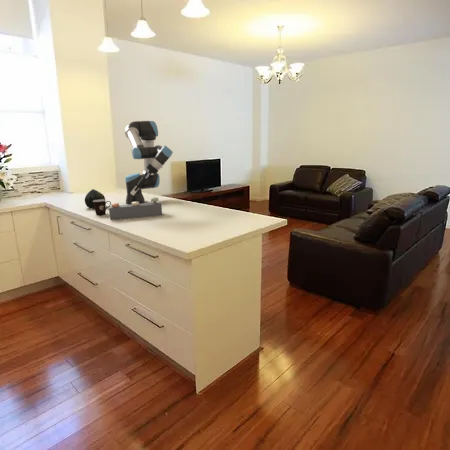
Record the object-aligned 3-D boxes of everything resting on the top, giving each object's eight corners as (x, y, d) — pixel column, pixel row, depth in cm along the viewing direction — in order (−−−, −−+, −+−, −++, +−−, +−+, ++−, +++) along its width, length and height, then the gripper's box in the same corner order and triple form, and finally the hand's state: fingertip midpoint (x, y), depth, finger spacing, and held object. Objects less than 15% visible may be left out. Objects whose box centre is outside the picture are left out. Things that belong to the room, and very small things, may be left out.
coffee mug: (93, 216, 237) (91, 202, 235) (95, 213, 245) (93, 199, 243) (110, 214, 239) (109, 200, 237) (112, 212, 248) (110, 198, 245)
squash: (96, 203, 253) (101, 186, 260) (78, 204, 257) (83, 187, 263) (106, 212, 266) (110, 195, 272) (89, 213, 269) (93, 196, 276)
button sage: (158, 203, 235) (158, 197, 234) (159, 205, 231) (158, 198, 229) (151, 204, 234) (150, 197, 233) (151, 205, 230) (151, 199, 228)
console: (161, 213, 238) (160, 201, 236) (162, 215, 232) (161, 203, 230) (111, 217, 231) (109, 206, 229) (110, 220, 224) (108, 208, 222)
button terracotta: (119, 209, 230) (119, 202, 229) (119, 211, 225) (118, 204, 224) (112, 210, 229) (111, 203, 228) (112, 211, 224) (111, 204, 223)
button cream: (139, 207, 233) (138, 201, 231) (139, 209, 228) (138, 202, 227) (132, 208, 232) (131, 201, 230) (132, 210, 227) (131, 203, 226)
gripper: (159, 171, 219) (136, 199, 220) (158, 169, 231) (136, 196, 232) (149, 163, 216) (126, 192, 218) (149, 162, 229) (127, 189, 230)
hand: (131, 194), depth 225 cm, fingers closed
